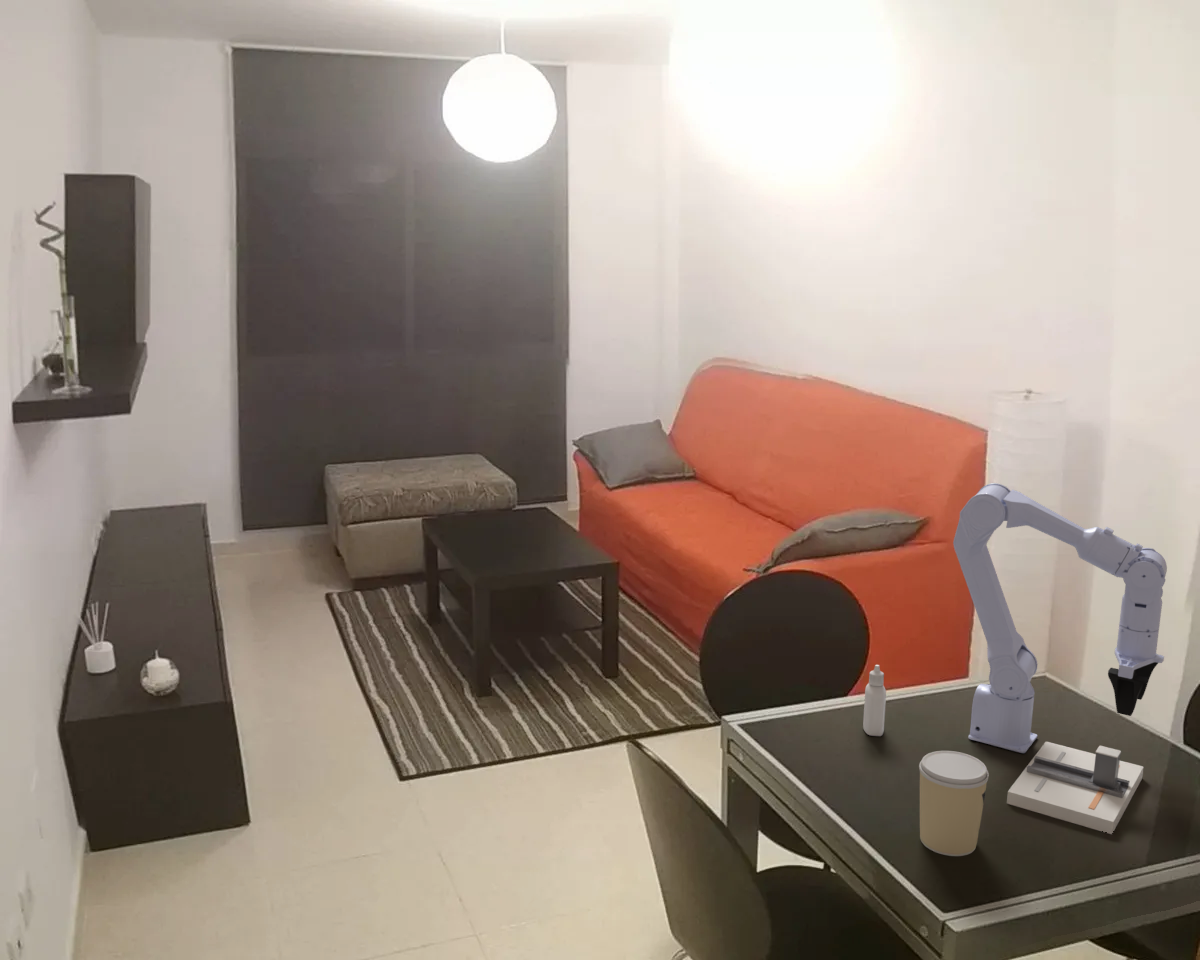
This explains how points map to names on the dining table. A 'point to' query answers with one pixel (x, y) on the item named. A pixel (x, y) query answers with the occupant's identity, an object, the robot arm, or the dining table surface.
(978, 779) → the coffee cup
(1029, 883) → the dining table surface
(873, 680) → the eye dropper bottle
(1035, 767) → the console
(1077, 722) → the dining table surface
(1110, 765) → the fader tab
